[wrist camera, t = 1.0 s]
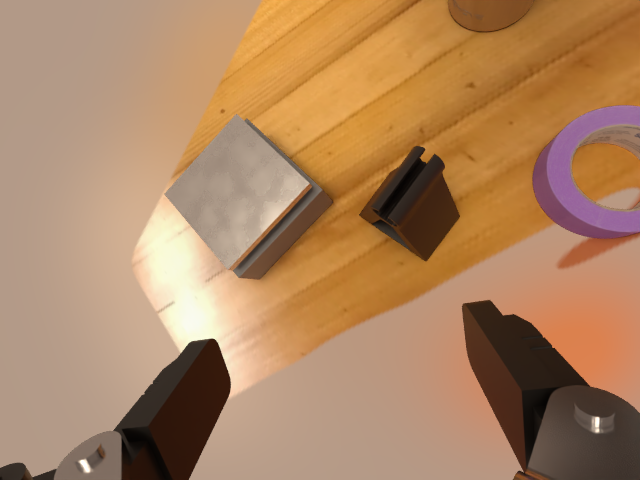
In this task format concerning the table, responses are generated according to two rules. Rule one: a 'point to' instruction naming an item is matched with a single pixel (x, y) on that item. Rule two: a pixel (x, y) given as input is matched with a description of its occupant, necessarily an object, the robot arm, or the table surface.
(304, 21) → the table surface
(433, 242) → the phone stand
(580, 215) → the masking tape
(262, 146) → the pan
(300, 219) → the base
